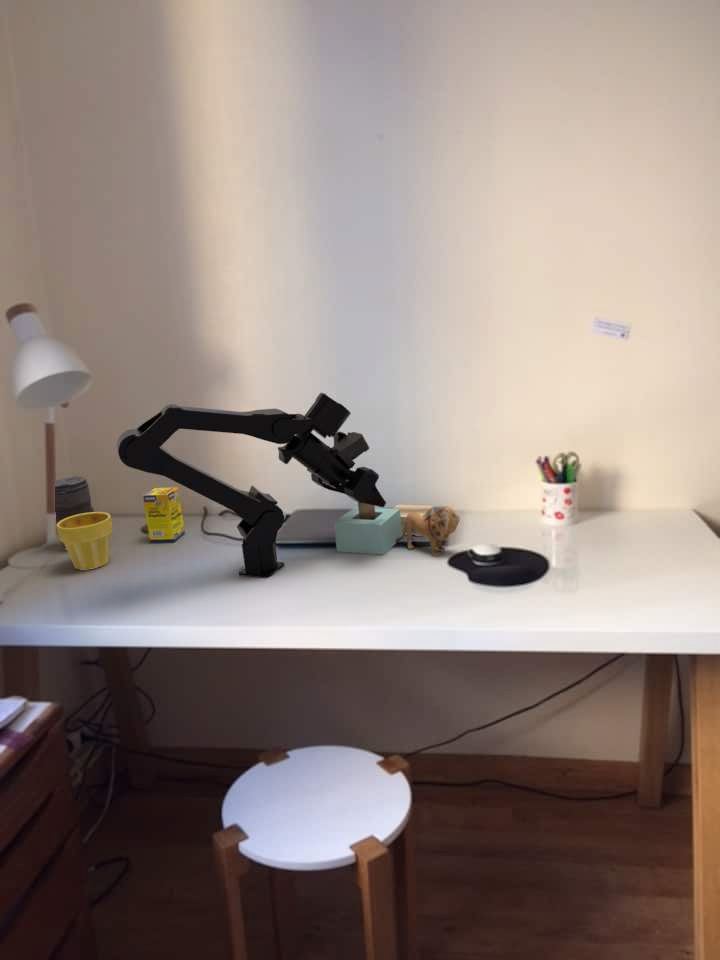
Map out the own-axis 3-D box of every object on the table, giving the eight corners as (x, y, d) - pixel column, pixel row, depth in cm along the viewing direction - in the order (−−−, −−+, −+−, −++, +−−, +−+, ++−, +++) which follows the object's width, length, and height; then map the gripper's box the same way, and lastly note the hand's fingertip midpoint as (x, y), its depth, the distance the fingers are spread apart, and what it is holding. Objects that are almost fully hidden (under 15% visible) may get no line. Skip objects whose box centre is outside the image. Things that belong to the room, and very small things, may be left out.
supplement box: (175, 542, 160) (167, 494, 158) (149, 543, 162) (141, 495, 159) (186, 533, 166) (178, 486, 163) (161, 534, 167) (153, 487, 164)
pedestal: (422, 536, 150) (421, 517, 149) (385, 534, 153) (384, 516, 152) (434, 523, 157) (433, 505, 156) (399, 522, 160) (398, 504, 159)
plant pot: (106, 572, 146) (97, 525, 143) (56, 576, 147) (46, 529, 144) (126, 554, 156) (118, 509, 153) (78, 557, 157) (70, 513, 154)
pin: (372, 532, 145) (369, 493, 143) (358, 531, 146) (354, 493, 144) (379, 527, 148) (375, 488, 146) (364, 526, 149) (360, 488, 147)
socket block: (383, 554, 142) (381, 524, 140) (336, 551, 146) (333, 522, 144) (402, 537, 150) (399, 508, 149) (357, 534, 154) (354, 507, 153)
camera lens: (64, 543, 167) (51, 479, 164) (101, 537, 169) (89, 474, 165) (57, 554, 160) (43, 488, 156) (96, 549, 161) (83, 482, 157)
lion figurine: (466, 550, 140) (463, 505, 138) (450, 559, 136) (447, 513, 134) (403, 539, 149) (400, 496, 147) (387, 547, 145) (383, 503, 143)
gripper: (364, 427, 132) (420, 474, 140) (318, 416, 148) (371, 459, 156) (330, 478, 130) (388, 524, 138) (287, 462, 146) (341, 503, 154)
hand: (372, 500), depth 146 cm, fingers open, 9 cm apart
